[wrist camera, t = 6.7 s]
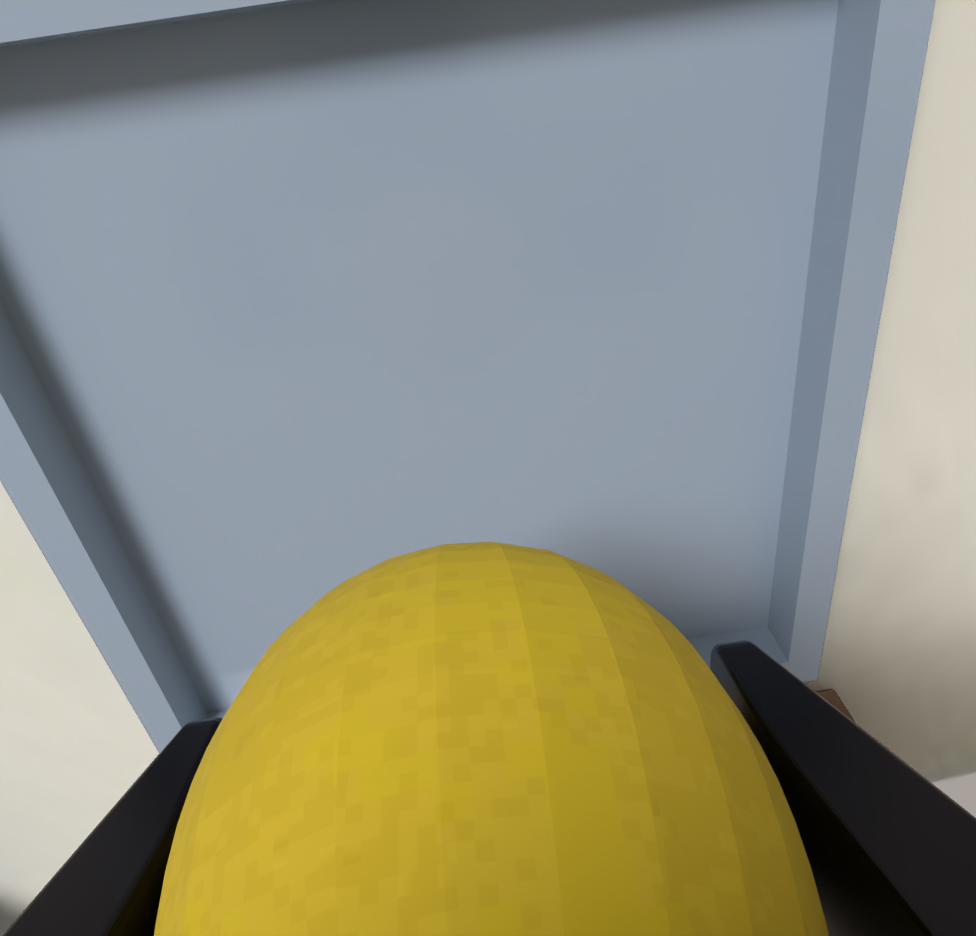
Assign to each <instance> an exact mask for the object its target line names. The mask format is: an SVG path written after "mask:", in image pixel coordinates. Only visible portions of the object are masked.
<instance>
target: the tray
mask: <svg viewBox="0 0 976 936" xmlns="http://www.w3.org/2000/svg"><path fill="white" fill-rule="evenodd" d="M934 5H935V0H0V481H1V483H2V485H3V486H4V488H5V490H6V491H7V493H8V495H9V497H10V498H11V500H12V502H13V503H14V505H15V507H16V509H17V510H18V512H19V514H20V515H21V517H22V519H23V521H24V522H25V524H26V526H27V527H28V529H29V531H30V533H31V534H32V536H33V538H34V539H35V541H36V543H37V545H38V546H39V548H40V550H41V551H42V553H43V555H44V557H45V558H46V560H47V562H48V563H49V565H50V567H51V569H52V570H53V572H54V574H55V575H56V577H57V579H58V581H59V582H60V584H61V586H62V587H63V589H64V591H65V593H66V594H67V596H68V598H69V599H70V601H71V603H72V605H73V606H74V608H75V610H76V611H77V613H78V615H79V617H80V618H81V620H82V622H83V623H84V625H85V627H86V629H87V630H88V632H89V634H90V635H91V637H92V639H93V641H94V642H95V644H96V646H97V647H98V649H99V651H100V653H101V654H102V656H103V658H104V659H105V661H106V663H107V665H108V666H109V668H110V670H111V671H112V673H113V675H114V677H115V678H116V680H117V682H118V683H119V685H120V687H121V689H122V690H123V692H124V694H125V695H126V697H127V699H128V700H129V702H130V704H131V706H132V707H133V709H134V711H135V712H136V714H137V716H138V718H139V719H140V721H141V723H142V724H143V726H144V728H145V730H146V731H147V733H148V735H149V736H150V738H151V740H152V742H153V743H154V745H155V747H156V748H157V750H158V752H159V754H160V752H161V751H162V750H163V749H164V748H165V747H166V745H167V744H168V743H169V742H170V741H171V740H172V738H173V737H174V736H175V735H176V734H177V733H178V732H179V730H180V729H181V728H182V727H183V726H185V725H186V724H187V723H189V722H191V721H196V720H202V719H209V718H216V717H221V718H223V717H224V715H225V714H226V712H227V711H228V709H229V707H230V706H231V704H232V703H233V701H234V700H235V698H236V696H237V695H238V693H239V692H240V690H241V689H242V687H243V685H244V684H245V682H246V681H247V679H248V677H249V676H250V674H251V673H252V671H253V670H254V668H255V667H256V665H257V664H258V662H259V661H260V660H261V658H262V657H263V655H264V654H265V652H266V651H267V649H268V648H269V647H270V646H271V644H272V643H273V642H274V641H275V640H276V639H277V638H278V637H279V636H280V635H281V634H282V633H283V632H284V631H285V629H286V628H287V627H288V626H290V625H291V624H292V623H293V622H294V621H295V620H297V619H298V618H299V617H300V616H301V615H302V614H304V613H305V612H306V611H307V610H308V609H309V608H310V607H312V606H313V605H314V604H315V603H316V602H317V601H319V600H320V599H321V598H322V597H323V596H324V595H325V594H327V593H328V592H329V591H331V590H332V589H334V588H335V587H336V586H338V585H339V584H341V583H342V582H344V581H346V580H348V579H350V578H352V577H354V576H356V575H358V574H360V573H362V572H364V571H365V570H367V569H369V568H371V567H373V566H375V565H377V564H379V563H381V562H383V561H385V560H387V559H390V558H393V557H396V556H400V555H404V554H407V553H411V552H415V551H419V550H423V549H427V548H431V547H435V546H438V545H442V544H456V543H474V542H497V543H504V544H511V545H517V546H524V547H531V548H537V549H544V550H549V551H552V552H554V553H557V554H559V555H562V556H564V557H567V558H569V559H572V560H575V561H577V562H580V563H582V564H585V565H587V566H590V567H592V568H595V569H597V570H599V571H600V572H602V573H604V574H606V575H608V576H610V577H612V578H614V579H615V580H616V581H618V582H619V583H620V584H622V585H623V586H624V587H626V588H627V589H628V590H630V591H631V592H633V593H634V594H635V595H637V596H638V597H639V598H641V599H642V600H643V601H645V602H646V603H647V604H649V605H650V606H651V607H653V608H654V609H655V610H656V611H658V612H659V613H660V614H661V615H663V616H664V617H665V618H666V619H668V620H669V621H670V622H671V623H672V624H673V625H674V626H675V627H676V628H677V629H678V630H679V631H680V632H681V633H682V634H683V635H684V637H685V638H686V639H687V640H688V641H689V642H690V643H691V644H692V645H693V647H694V648H695V649H696V651H697V652H698V653H699V655H700V656H701V658H702V659H703V660H704V662H705V663H706V664H707V666H708V667H709V668H710V660H711V651H712V648H713V646H714V645H716V644H718V643H724V642H731V641H738V640H748V641H750V642H753V643H754V644H756V645H757V646H758V647H759V648H761V649H762V650H763V651H764V652H766V653H767V654H768V655H770V656H771V657H772V658H773V659H775V660H776V661H777V662H778V663H780V664H781V665H782V666H783V667H785V668H786V669H787V670H789V671H790V672H791V673H792V674H794V675H795V676H796V677H797V678H799V679H800V680H801V681H802V682H808V681H814V680H817V679H818V673H819V668H820V662H821V656H822V650H823V645H824V639H825V633H826V627H827V622H828V616H829V610H830V604H831V599H832V593H833V587H834V581H835V576H836V570H837V564H838V558H839V553H840V547H841V541H842V535H843V529H844V524H845V518H846V512H847V506H848V501H849V495H850V489H851V483H852V478H853V472H854V466H855V460H856V455H857V449H858V443H859V437H860V432H861V426H862V420H863V414H864V409H865V403H866V397H867V391H868V385H869V380H870V374H871V368H872V362H873V357H874V351H875V345H876V339H877V334H878V328H879V322H880V316H881V311H882V305H883V299H884V293H885V288H886V282H887V276H888V270H889V264H890V259H891V253H892V247H893V241H894V236H895V230H896V224H897V218H898V213H899V207H900V201H901V195H902V190H903V184H904V178H905V172H906V167H907V161H908V155H909V149H910V144H911V138H912V132H913V126H914V120H915V115H916V109H917V103H918V97H919V92H920V86H921V80H922V74H923V69H924V63H925V57H926V51H927V46H928V40H929V34H930V28H931V23H932V17H933V11H934Z"/></svg>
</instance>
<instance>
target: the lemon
mask: <svg viewBox="0 0 976 936" xmlns="http://www.w3.org/2000/svg"><path fill="white" fill-rule="evenodd" d="M154 936H829V933H828V929H827V924H826V920H825V917H824V913H823V909H822V906H821V902H820V898H819V895H818V891H817V887H816V884H815V880H814V876H813V873H812V869H811V866H810V863H809V860H808V857H807V854H806V851H805V848H804V845H803V842H802V839H801V836H800V833H799V830H798V827H797V824H796V822H795V819H794V817H793V814H792V812H791V809H790V807H789V805H788V802H787V800H786V797H785V795H784V793H783V790H782V788H781V785H780V783H779V781H778V778H777V777H776V775H775V773H774V771H773V769H772V767H771V765H770V763H769V761H768V759H767V757H766V755H765V753H764V751H763V749H762V747H761V745H760V743H759V742H758V740H757V738H756V737H755V735H754V733H753V732H752V730H751V729H750V727H749V725H748V724H747V722H746V720H745V719H744V717H743V716H742V714H741V712H740V711H739V709H738V708H737V707H736V705H735V704H734V702H733V701H732V699H731V698H730V697H729V695H728V694H727V692H726V691H725V689H724V688H723V687H722V685H721V684H720V682H719V681H718V680H717V678H716V677H715V675H714V674H713V672H712V671H711V670H710V668H709V667H708V666H707V664H706V663H705V662H704V660H703V659H702V658H701V656H700V655H699V653H698V652H697V651H696V649H695V648H694V647H693V645H692V644H691V643H690V642H689V641H688V640H687V639H686V638H685V637H684V635H683V634H682V633H681V632H680V631H679V630H678V629H677V628H676V627H675V626H674V625H673V624H672V623H671V622H670V621H669V620H668V619H666V618H665V617H664V616H663V615H661V614H660V613H659V612H658V611H656V610H655V609H654V608H653V607H651V606H650V605H649V604H647V603H646V602H645V601H643V600H642V599H641V598H639V597H638V596H637V595H635V594H634V593H633V592H631V591H630V590H628V589H627V588H626V587H624V586H623V585H622V584H620V583H619V582H618V581H616V580H615V579H614V578H612V577H610V576H608V575H606V574H604V573H602V572H600V571H599V570H597V569H595V568H592V567H590V566H587V565H585V564H582V563H580V562H577V561H575V560H572V559H569V558H567V557H564V556H562V555H559V554H557V553H554V552H552V551H549V550H544V549H537V548H531V547H524V546H517V545H511V544H504V543H497V542H474V543H456V544H442V545H438V546H435V547H431V548H427V549H423V550H419V551H415V552H411V553H407V554H404V555H400V556H396V557H393V558H390V559H387V560H385V561H383V562H381V563H379V564H377V565H375V566H373V567H371V568H369V569H367V570H365V571H364V572H362V573H360V574H358V575H356V576H354V577H352V578H350V579H348V580H346V581H344V582H342V583H341V584H339V585H338V586H336V587H335V588H334V589H332V590H331V591H329V592H328V593H327V594H325V595H324V596H323V597H322V598H321V599H320V600H319V601H317V602H316V603H315V604H314V605H313V606H312V607H310V608H309V609H308V610H307V611H306V612H305V613H304V614H302V615H301V616H300V617H299V618H298V619H297V620H295V621H294V622H293V623H292V624H291V625H290V626H288V627H287V628H286V629H285V631H284V632H283V633H282V634H281V635H280V636H279V637H278V638H277V639H276V640H275V641H274V642H273V643H272V644H271V646H270V647H269V648H268V649H267V651H266V652H265V654H264V655H263V657H262V658H261V660H260V661H259V662H258V664H257V665H256V667H255V668H254V670H253V671H252V673H251V674H250V676H249V677H248V679H247V681H246V682H245V684H244V685H243V687H242V689H241V690H240V692H239V693H238V695H237V696H236V698H235V700H234V701H233V703H232V704H231V706H230V707H229V709H228V711H227V712H226V714H225V715H224V717H223V719H222V721H221V723H220V725H219V726H218V728H217V730H216V732H215V734H214V736H213V737H212V739H211V741H210V743H209V745H208V747H207V749H206V751H205V753H204V756H203V758H202V760H201V762H200V765H199V767H198V769H197V772H196V774H195V776H194V778H193V781H192V783H191V786H190V789H189V792H188V794H187V797H186V800H185V803H184V806H183V809H182V812H181V815H180V818H179V821H178V824H177V827H176V831H175V835H174V839H173V843H172V847H171V851H170V855H169V859H168V862H167V866H166V870H165V875H164V880H163V886H162V892H161V897H160V903H159V908H158V914H157V919H156V925H155V931H154Z"/></svg>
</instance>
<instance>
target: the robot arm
mask: <svg viewBox="0 0 976 936" xmlns="http://www.w3.org/2000/svg"><path fill="white" fill-rule="evenodd" d="M710 670H711V671H712V672H713V674H714V675H715V677H716V678H717V680H718V681H719V682H720V684H721V685H722V687H723V688H724V689H725V691H726V692H727V694H728V695H729V697H730V698H731V699H732V701H733V702H734V704H735V705H736V707H737V708H738V709H739V711H740V712H741V714H742V716H743V717H744V719H745V720H746V722H747V724H748V725H749V727H750V729H751V730H752V732H753V733H754V735H755V737H756V738H757V740H758V742H759V743H760V745H761V747H762V749H763V751H764V753H765V755H766V757H767V759H768V761H769V763H770V765H771V767H772V769H773V771H774V773H775V775H776V777H777V778H778V781H779V783H780V785H781V788H782V790H783V793H784V795H785V797H786V800H787V802H788V805H789V807H790V809H791V812H792V814H793V817H794V819H795V822H796V824H797V827H798V830H799V833H800V836H801V839H802V842H803V845H804V848H805V851H806V854H807V857H808V860H809V863H810V866H811V869H812V873H813V876H814V880H815V884H816V887H817V891H818V895H819V898H820V902H821V906H822V909H823V913H824V917H825V920H826V924H827V929H828V933H829V936H976V818H975V817H974V816H972V815H971V814H970V813H969V812H967V811H966V810H965V809H964V808H962V807H961V806H960V805H959V804H957V803H956V802H955V801H953V800H952V799H951V798H950V797H948V796H947V795H946V794H945V793H943V792H942V791H941V790H940V789H938V788H937V787H935V786H934V785H933V784H932V783H931V782H929V781H928V780H927V779H926V778H924V777H923V776H922V775H920V774H919V773H918V772H917V771H915V770H914V769H913V768H912V767H910V766H909V765H908V764H907V763H905V762H904V761H903V760H901V759H900V758H899V757H898V756H896V755H895V754H894V753H893V752H891V751H890V750H889V749H887V748H886V747H885V746H884V745H882V744H881V743H880V742H879V741H877V740H876V739H875V738H874V737H872V736H871V735H870V734H868V733H867V732H866V731H865V730H863V729H862V728H861V727H860V726H858V725H857V724H856V723H855V722H853V721H852V720H851V719H849V718H848V717H847V716H846V715H844V714H843V713H842V712H841V711H839V710H838V709H837V708H835V707H834V706H833V705H832V704H830V703H829V702H828V701H827V700H825V699H824V698H823V697H822V696H820V695H819V694H818V693H816V692H815V691H814V690H813V689H811V688H810V687H809V686H808V685H806V684H805V683H804V682H802V681H801V680H800V679H799V678H797V677H796V676H795V675H794V674H792V673H791V672H790V671H789V670H787V669H786V668H785V667H783V666H782V665H781V664H780V663H778V662H777V661H776V660H775V659H773V658H772V657H771V656H770V655H768V654H767V653H766V652H764V651H763V650H762V649H761V648H759V647H758V646H757V645H756V644H754V643H753V642H750V641H748V640H738V641H731V642H724V643H718V644H716V645H714V646H713V648H712V651H711V660H710ZM222 719H223V718H221V717H216V718H209V719H202V720H196V721H191V722H189V723H187V724H186V725H185V726H183V727H182V728H181V729H180V730H179V732H178V733H177V734H176V735H175V736H174V737H173V738H172V740H171V741H170V742H169V743H168V744H167V745H166V747H165V748H164V749H163V750H162V751H161V752H160V754H159V755H158V756H157V757H156V758H155V759H154V761H153V762H152V763H151V764H150V765H149V766H148V767H147V769H146V770H145V771H144V772H143V773H142V774H141V776H140V777H139V778H138V779H137V780H136V781H135V783H134V784H133V785H132V786H131V787H130V788H129V790H128V791H127V792H126V793H125V794H124V795H123V796H122V798H121V799H120V800H119V801H118V802H117V803H116V805H115V806H114V807H113V808H112V809H111V810H110V812H109V813H108V814H107V815H106V816H105V817H104V819H103V820H102V821H101V822H100V823H99V824H98V825H97V827H96V828H95V829H94V830H93V831H92V832H91V834H90V835H89V836H88V837H87V838H86V839H85V841H84V842H83V843H82V844H81V845H80V846H79V847H78V849H77V850H76V851H75V852H74V853H73V854H72V856H71V857H70V858H69V859H68V860H67V861H66V863H65V864H64V865H63V866H62V867H61V868H60V870H59V871H58V872H57V873H56V874H55V875H54V876H53V878H52V879H51V880H50V881H49V882H48V883H47V885H46V886H45V887H44V888H43V889H42V890H41V892H40V893H39V894H38V895H37V896H36V897H35V899H34V900H33V901H32V902H31V903H30V904H29V905H28V907H27V908H26V909H25V910H24V911H23V912H22V914H21V915H20V916H19V917H18V918H17V919H16V921H15V922H14V923H13V924H12V925H11V926H10V928H9V929H8V930H7V931H6V932H5V933H4V934H3V936H154V931H155V925H156V919H157V914H158V908H159V903H160V897H161V892H162V886H163V880H164V875H165V870H166V866H167V862H168V859H169V855H170V851H171V847H172V843H173V839H174V835H175V831H176V827H177V824H178V821H179V818H180V815H181V812H182V809H183V806H184V803H185V800H186V797H187V794H188V792H189V789H190V786H191V783H192V781H193V778H194V776H195V774H196V772H197V769H198V767H199V765H200V762H201V760H202V758H203V756H204V753H205V751H206V749H207V747H208V745H209V743H210V741H211V739H212V737H213V736H214V734H215V732H216V730H217V728H218V726H219V725H220V723H221V721H222Z"/></svg>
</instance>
